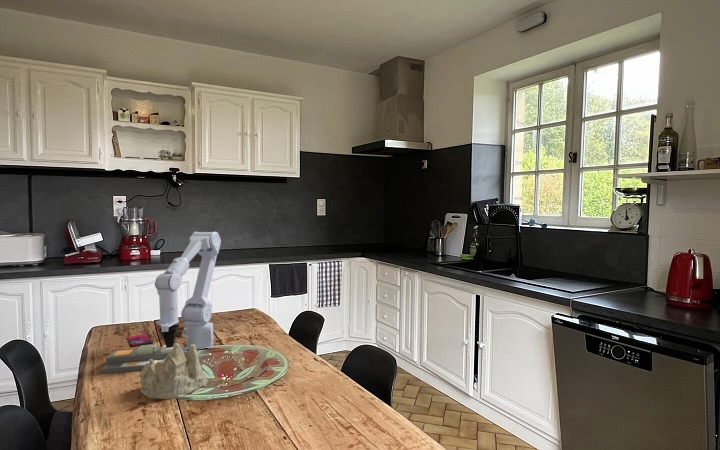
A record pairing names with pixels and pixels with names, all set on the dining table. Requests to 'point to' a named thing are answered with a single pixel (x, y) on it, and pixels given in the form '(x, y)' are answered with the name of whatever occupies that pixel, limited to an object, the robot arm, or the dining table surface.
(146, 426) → the dining table surface
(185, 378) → the ceramic cottage
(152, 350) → the sage key
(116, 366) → the keypad
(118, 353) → the orange key
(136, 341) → the smartphone
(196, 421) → the dining table surface
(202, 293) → the robot arm
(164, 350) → the cream key
